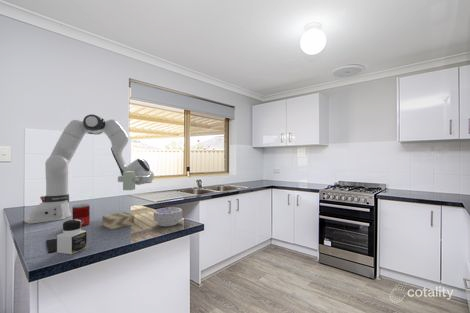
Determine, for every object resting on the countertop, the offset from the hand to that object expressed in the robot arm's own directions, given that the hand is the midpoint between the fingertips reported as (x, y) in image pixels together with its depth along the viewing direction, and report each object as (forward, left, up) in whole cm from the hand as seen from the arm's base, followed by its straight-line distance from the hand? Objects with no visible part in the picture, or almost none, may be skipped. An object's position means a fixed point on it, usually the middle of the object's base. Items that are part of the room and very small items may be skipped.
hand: (128, 179), depth 144 cm
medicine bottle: (-36, -32, -24) cm, 54 cm away
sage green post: (+1, +1, -6) cm, 6 cm away
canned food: (-23, +7, -24) cm, 34 cm away
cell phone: (-38, -21, -24) cm, 50 cm away
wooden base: (-9, -8, -24) cm, 27 cm away
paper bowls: (+10, -28, -24) cm, 38 cm away
